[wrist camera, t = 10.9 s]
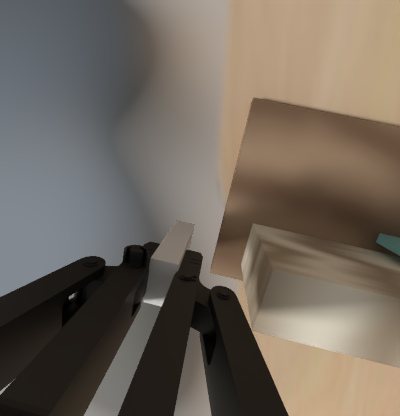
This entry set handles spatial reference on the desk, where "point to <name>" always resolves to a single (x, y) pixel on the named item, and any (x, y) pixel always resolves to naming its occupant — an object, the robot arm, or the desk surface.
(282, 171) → the board
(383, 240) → the end cap
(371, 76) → the desk surface
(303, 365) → the desk surface
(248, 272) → the pale wood block
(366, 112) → the desk surface
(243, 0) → the desk surface
